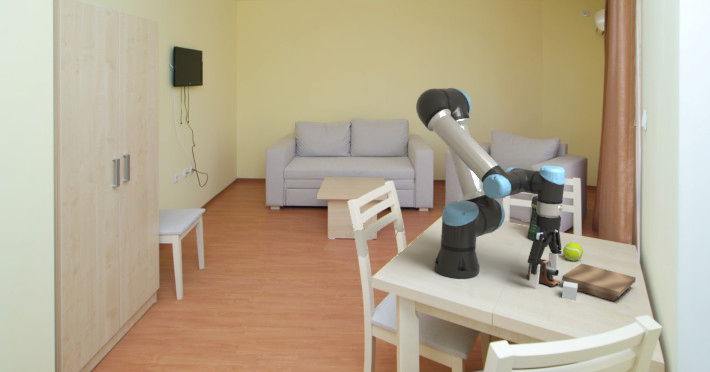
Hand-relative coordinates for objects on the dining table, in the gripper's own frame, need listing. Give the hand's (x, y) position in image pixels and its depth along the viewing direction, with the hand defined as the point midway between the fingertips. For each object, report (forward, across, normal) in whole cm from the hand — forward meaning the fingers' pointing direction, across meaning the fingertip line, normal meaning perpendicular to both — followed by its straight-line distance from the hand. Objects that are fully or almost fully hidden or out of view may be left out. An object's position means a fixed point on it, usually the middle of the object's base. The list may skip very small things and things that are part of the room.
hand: (543, 277), depth 171 cm
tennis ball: (+2, +28, +1) cm, 28 cm away
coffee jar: (+1, +43, +20) cm, 48 cm away
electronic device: (+2, 0, 0) cm, 2 cm away
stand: (+2, +8, -15) cm, 17 cm away
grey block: (+2, -5, -11) cm, 12 cm away
